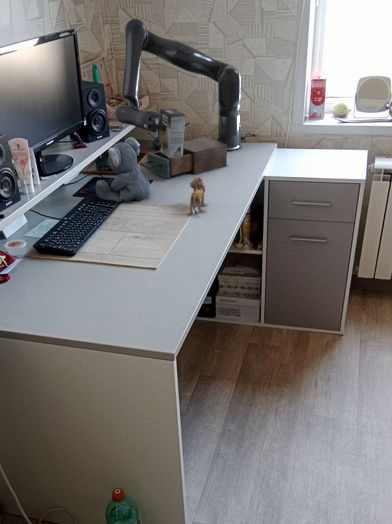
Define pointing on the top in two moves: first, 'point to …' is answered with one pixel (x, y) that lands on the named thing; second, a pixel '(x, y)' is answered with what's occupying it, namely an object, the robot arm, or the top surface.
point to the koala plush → (124, 174)
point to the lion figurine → (197, 194)
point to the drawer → (168, 163)
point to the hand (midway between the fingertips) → (173, 126)
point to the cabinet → (206, 154)
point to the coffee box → (172, 133)
